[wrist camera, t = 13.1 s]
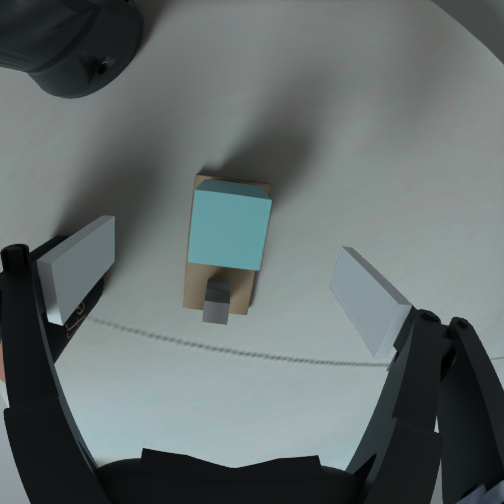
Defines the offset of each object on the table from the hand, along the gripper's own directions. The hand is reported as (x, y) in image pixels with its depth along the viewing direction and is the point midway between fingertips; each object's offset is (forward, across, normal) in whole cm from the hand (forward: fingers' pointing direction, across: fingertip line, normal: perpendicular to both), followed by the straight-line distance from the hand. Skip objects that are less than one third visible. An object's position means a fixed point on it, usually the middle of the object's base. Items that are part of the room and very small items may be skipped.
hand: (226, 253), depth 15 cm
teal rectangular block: (+14, 0, -1) cm, 14 cm away
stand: (+16, 0, -6) cm, 17 cm away
